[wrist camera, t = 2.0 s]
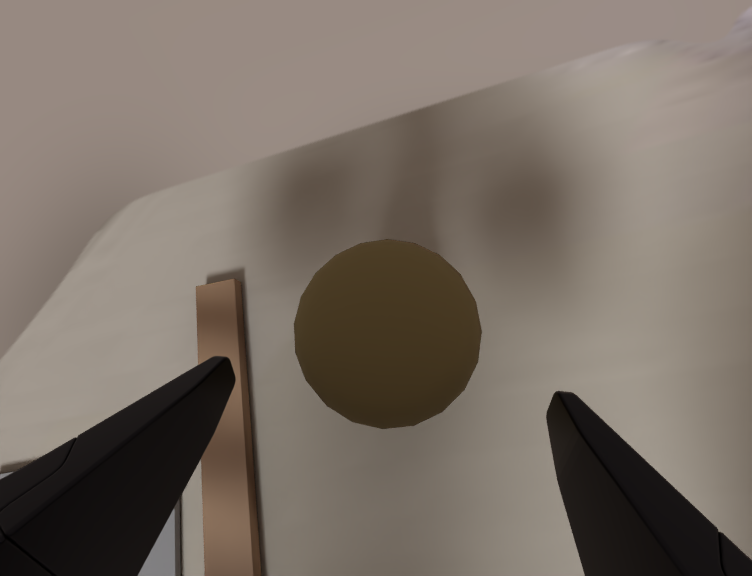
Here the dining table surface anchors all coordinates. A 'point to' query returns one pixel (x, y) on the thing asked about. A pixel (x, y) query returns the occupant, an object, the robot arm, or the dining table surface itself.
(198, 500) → the dining table surface
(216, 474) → the walnut line
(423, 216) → the dining table surface
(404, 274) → the cork
